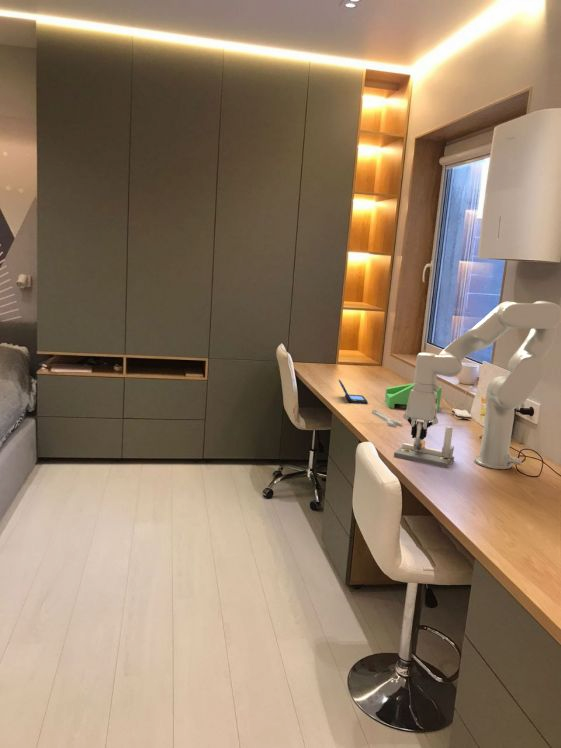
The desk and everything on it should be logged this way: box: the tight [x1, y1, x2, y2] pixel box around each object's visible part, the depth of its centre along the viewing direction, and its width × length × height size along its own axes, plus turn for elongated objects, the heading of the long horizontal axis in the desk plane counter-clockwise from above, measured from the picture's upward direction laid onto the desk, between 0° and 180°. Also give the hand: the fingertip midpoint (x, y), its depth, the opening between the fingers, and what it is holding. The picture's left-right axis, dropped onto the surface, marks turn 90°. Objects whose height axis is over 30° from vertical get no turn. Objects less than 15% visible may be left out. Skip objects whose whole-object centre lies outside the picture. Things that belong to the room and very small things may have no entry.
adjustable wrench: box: [371, 409, 403, 428], centre depth 278 cm, size 25×6×2 cm, turn 11°
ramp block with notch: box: [384, 382, 442, 412], centre depth 306 cm, size 24×13×12 cm, turn 89°
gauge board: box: [393, 425, 455, 469], centre depth 222 cm, size 19×10×13 cm, turn 62°
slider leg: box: [412, 420, 426, 452], centre depth 225 cm, size 3×6×11 cm, turn 152°
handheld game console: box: [338, 379, 368, 405], centre depth 312 cm, size 16×13×9 cm
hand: (418, 437), depth 224 cm, fingers closed on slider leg, 2 cm apart
